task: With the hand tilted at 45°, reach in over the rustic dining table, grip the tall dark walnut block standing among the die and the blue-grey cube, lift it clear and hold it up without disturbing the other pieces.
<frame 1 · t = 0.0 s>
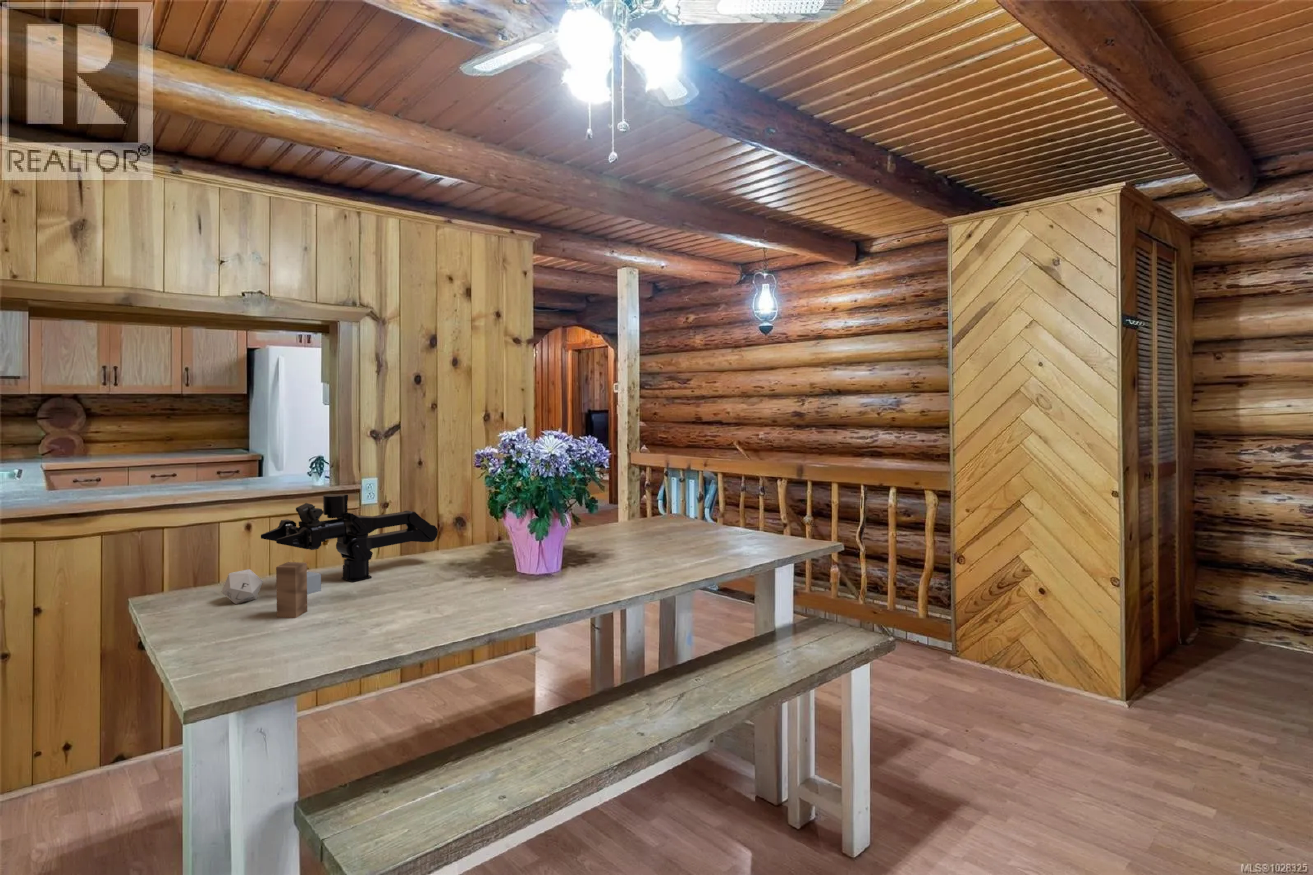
hand: (268, 539, 184), 17 cm above the table, tool horizontal, fingers open, 9 cm apart
walnut block: (292, 614, 172), on the table
die: (242, 601, 182), on the table
slate cube: (307, 591, 191), on the table
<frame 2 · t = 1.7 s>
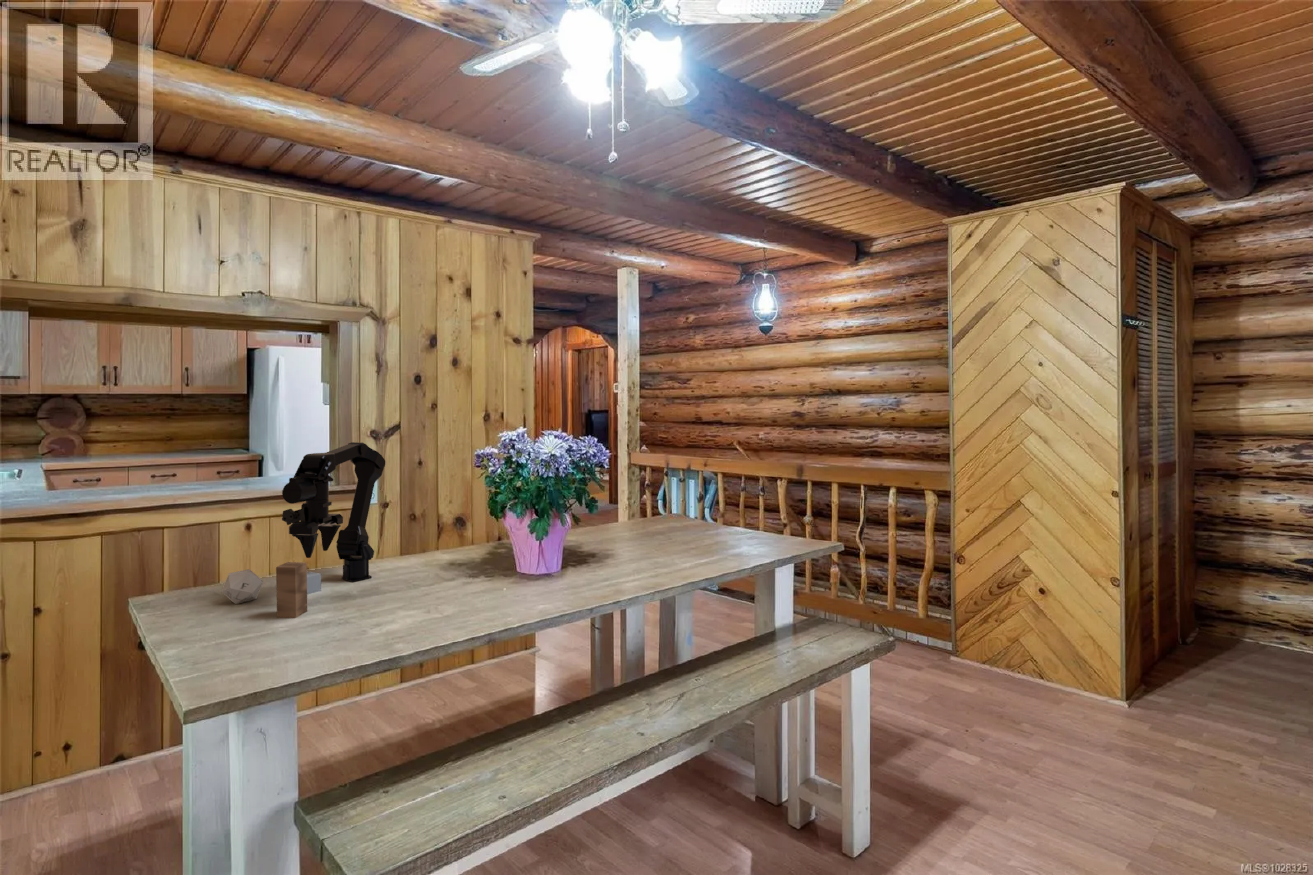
hand: (317, 554, 186), 12 cm above the table, tool pointing down, fingers open, 9 cm apart
nothing on the table moved.
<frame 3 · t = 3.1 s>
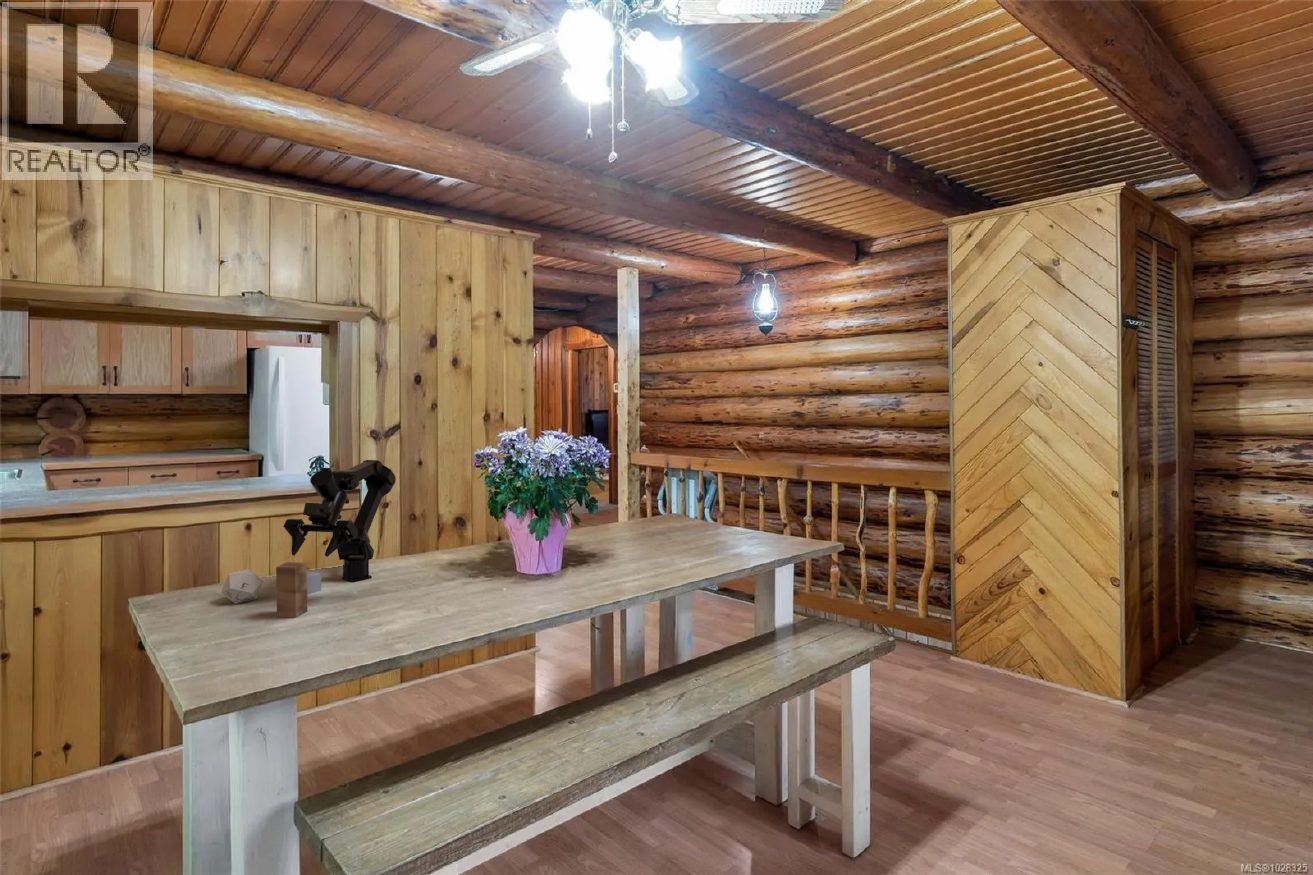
hand: (309, 555, 179), 13 cm above the table, tool tilted 45°, fingers open, 9 cm apart
nothing on the table moved.
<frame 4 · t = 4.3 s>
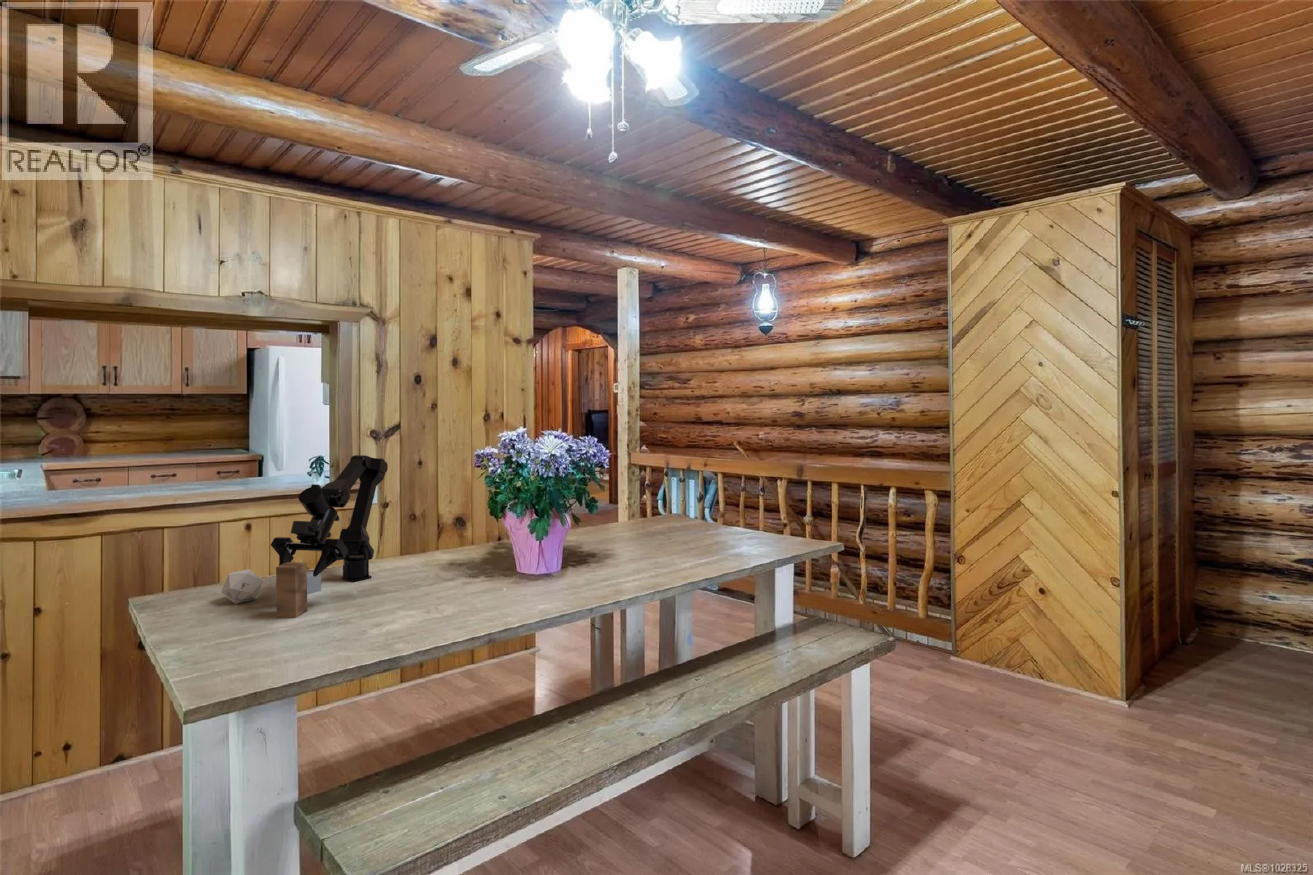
hand: (297, 575, 173), 10 cm above the table, tool tilted 45°, fingers open, 9 cm apart
nothing on the table moved.
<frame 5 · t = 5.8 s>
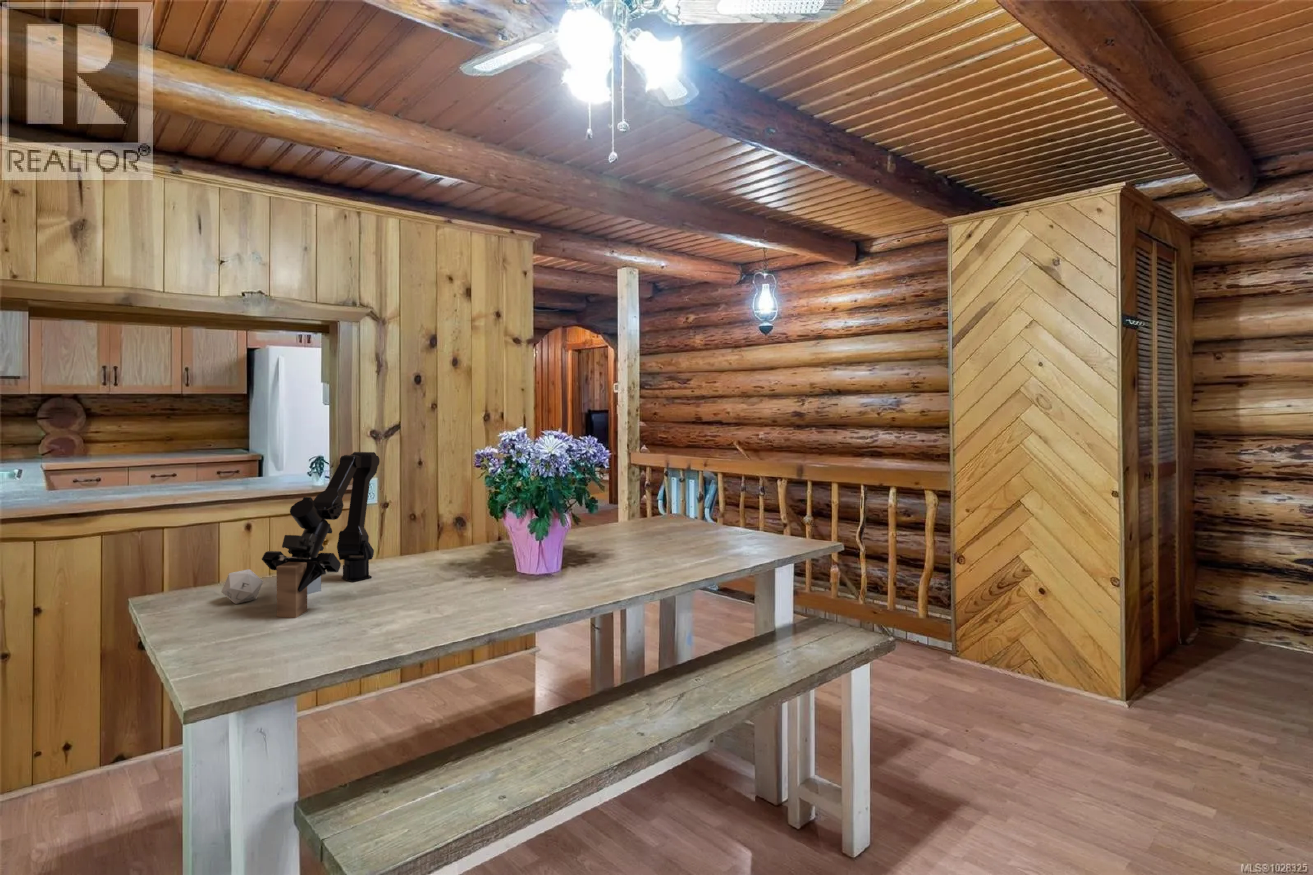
hand: (288, 590, 170), 7 cm above the table, tool tilted 45°, fingers closed on walnut block, 5 cm apart
walnut block: (292, 614, 172), on the table, touching gripper
everything else where it was.
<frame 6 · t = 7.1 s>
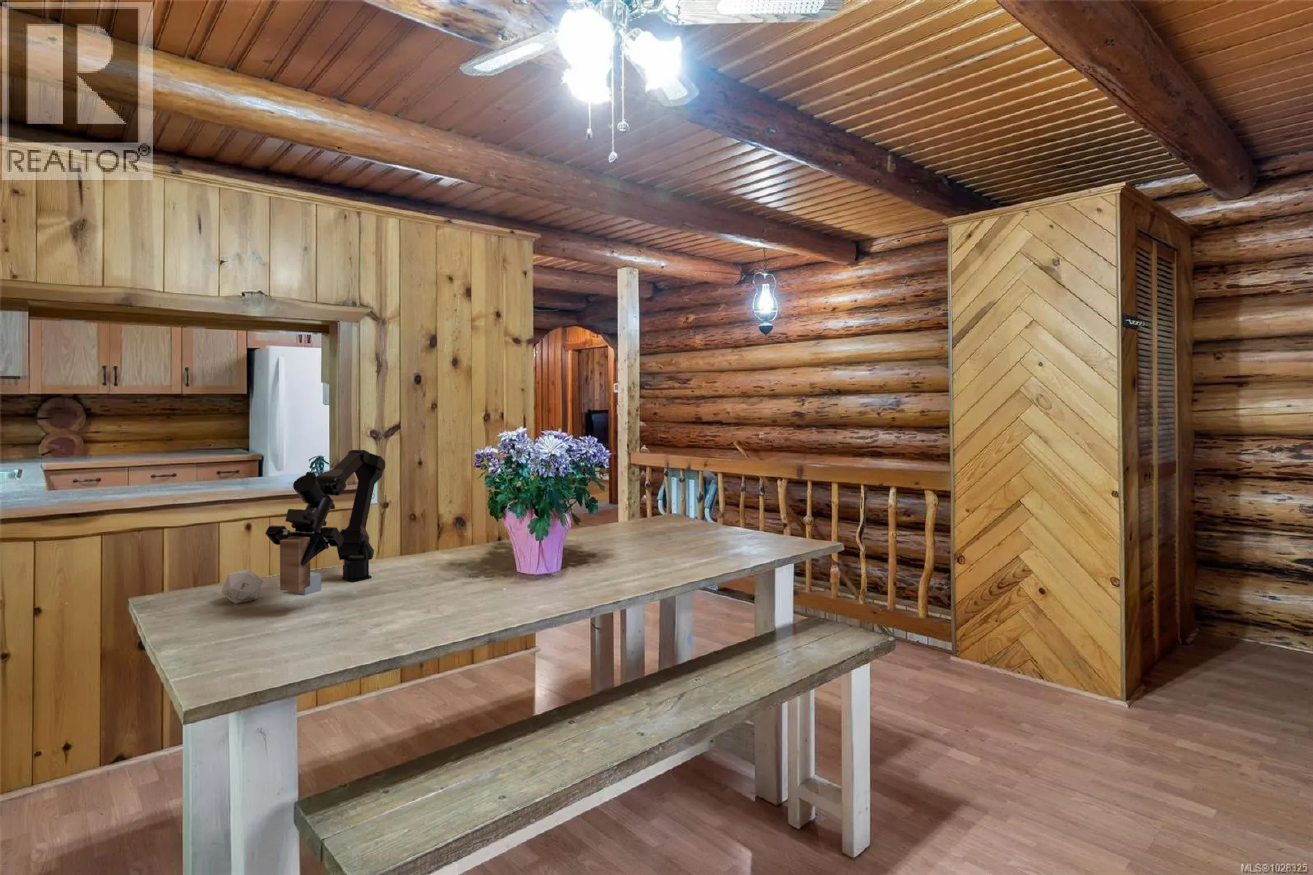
hand: (292, 564, 171), 13 cm above the table, tool tilted 45°, fingers closed on walnut block, 5 cm apart
walnut block: (295, 588, 173), point 6 cm above the table, touching gripper
everything else where it was.
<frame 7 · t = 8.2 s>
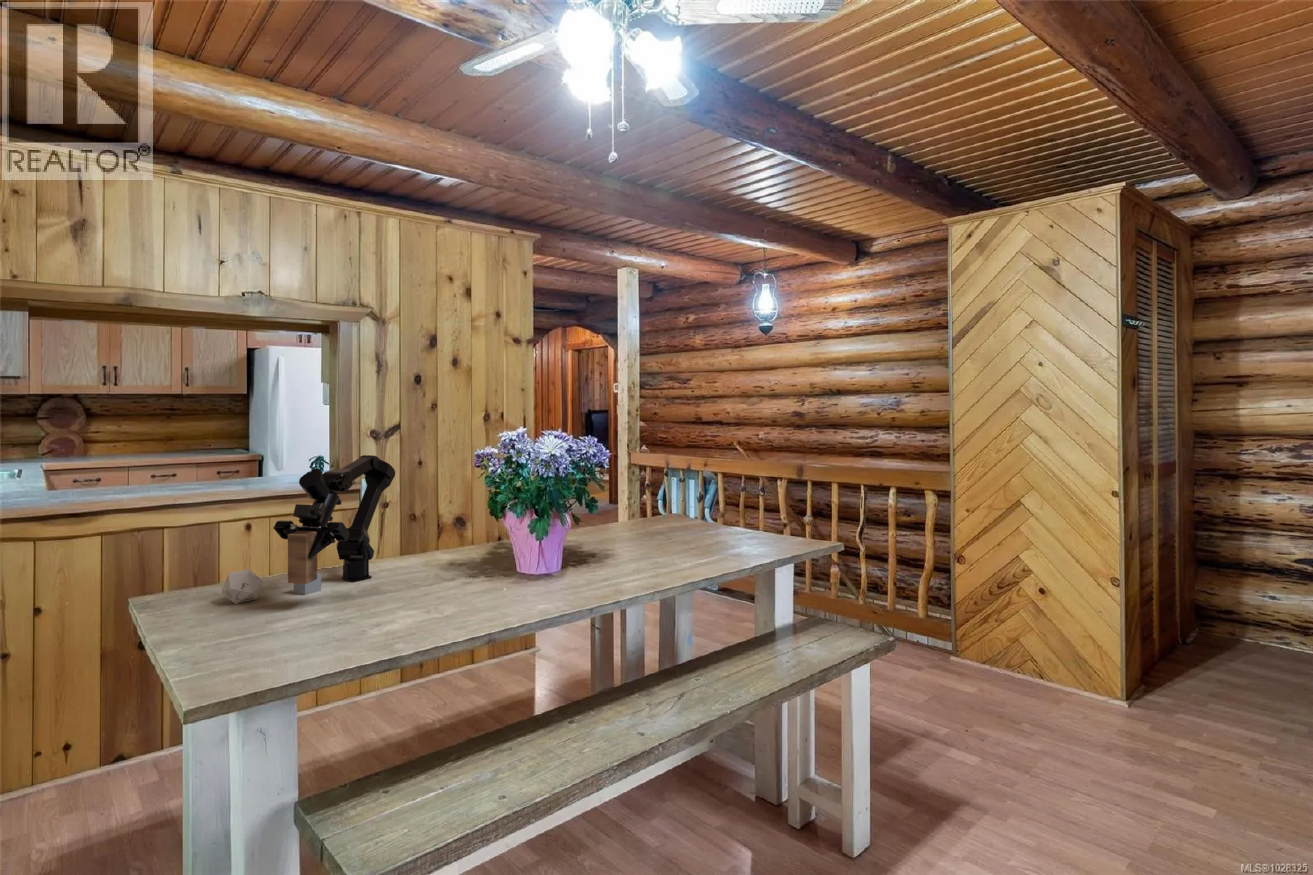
hand: (299, 557, 176), 13 cm above the table, tool tilted 45°, fingers closed on walnut block, 5 cm apart
walnut block: (302, 581, 178), point 7 cm above the table, touching gripper
everything else where it was.
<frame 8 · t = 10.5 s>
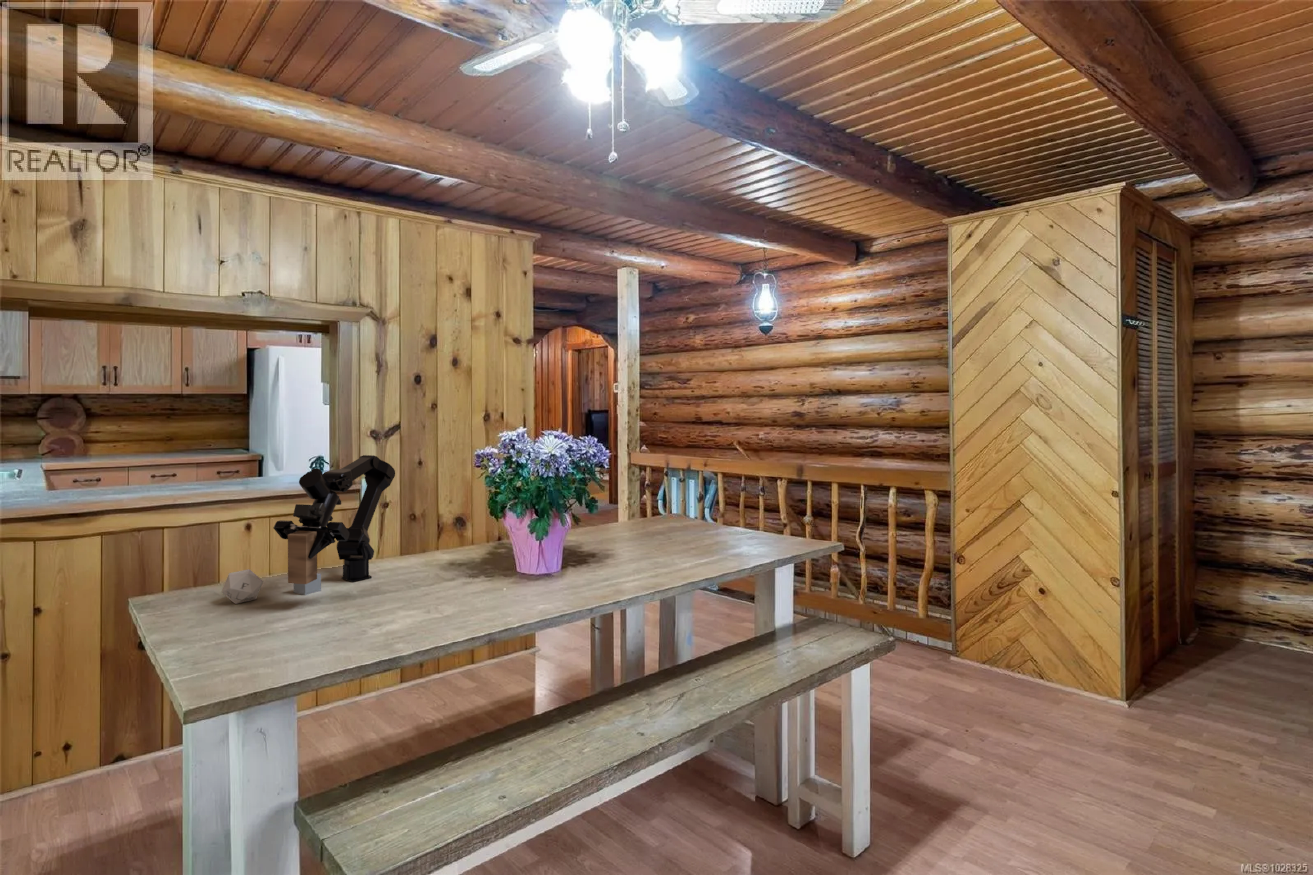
hand: (299, 557, 176), 13 cm above the table, tool tilted 45°, fingers closed on walnut block, 5 cm apart
walnut block: (302, 581, 178), point 7 cm above the table, touching gripper
everything else where it was.
at the end: the gripper is holding walnut block; walnut block point 6.8 cm above the table; die moved 0.2 cm from its start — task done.
